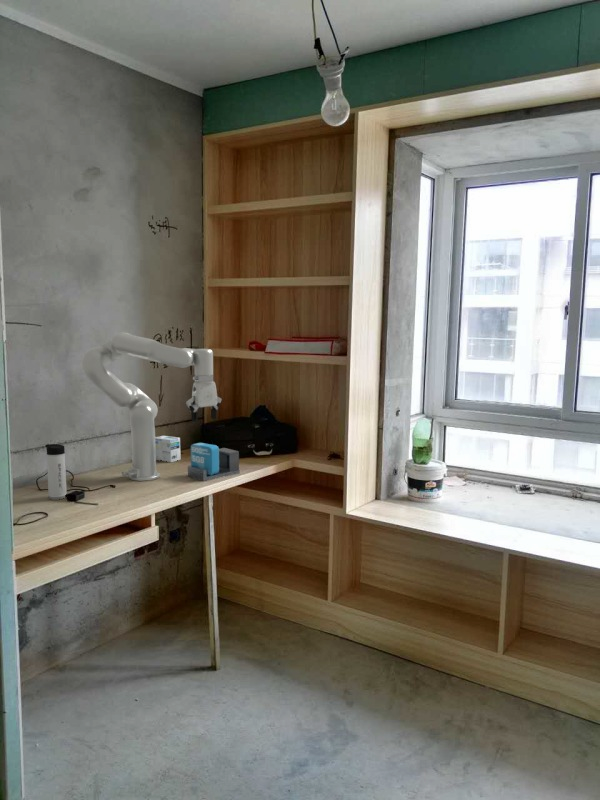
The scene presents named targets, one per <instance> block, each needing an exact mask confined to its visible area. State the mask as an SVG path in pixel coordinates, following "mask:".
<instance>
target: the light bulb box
mask: <svg viewBox="0 0 600 800" xmlns="http://www.w3.org/2000/svg"><path fill="white" fill-rule="evenodd" d="M155 447H156V461H160V460H162V461H161V462H166V461H167V462H168V463H175V462H177V460H178V461H181V456H182V455H181V437H176V436H169V435H161V436H155ZM167 462H166V463H167Z"/></svg>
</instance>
